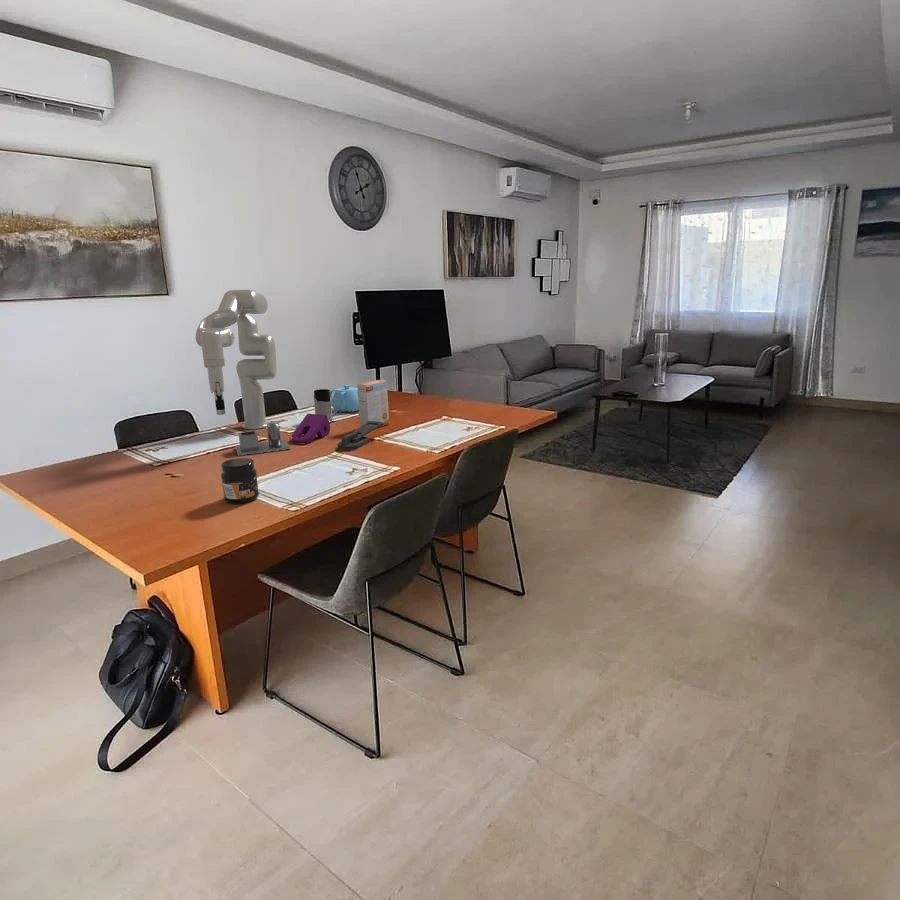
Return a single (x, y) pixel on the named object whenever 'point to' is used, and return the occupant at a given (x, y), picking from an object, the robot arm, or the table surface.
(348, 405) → the decorative pot
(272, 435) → the grey fixture stand
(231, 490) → the supplement container
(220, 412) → the locking pin
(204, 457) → the table surface
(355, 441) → the zipper pull
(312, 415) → the mounting bracket
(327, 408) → the black and grey mug
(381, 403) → the cracker box
